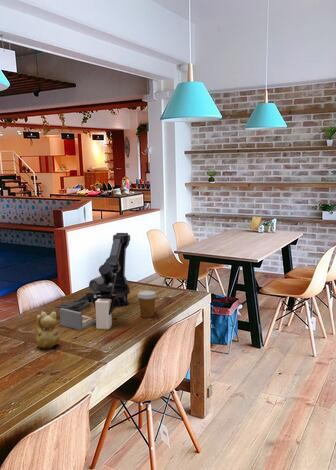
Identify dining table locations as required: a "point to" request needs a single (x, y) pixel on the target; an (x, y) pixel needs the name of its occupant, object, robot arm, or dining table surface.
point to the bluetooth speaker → (96, 284)
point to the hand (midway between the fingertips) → (102, 314)
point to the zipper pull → (76, 304)
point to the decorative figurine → (47, 330)
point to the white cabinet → (103, 314)
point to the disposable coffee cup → (147, 302)
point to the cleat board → (75, 319)
